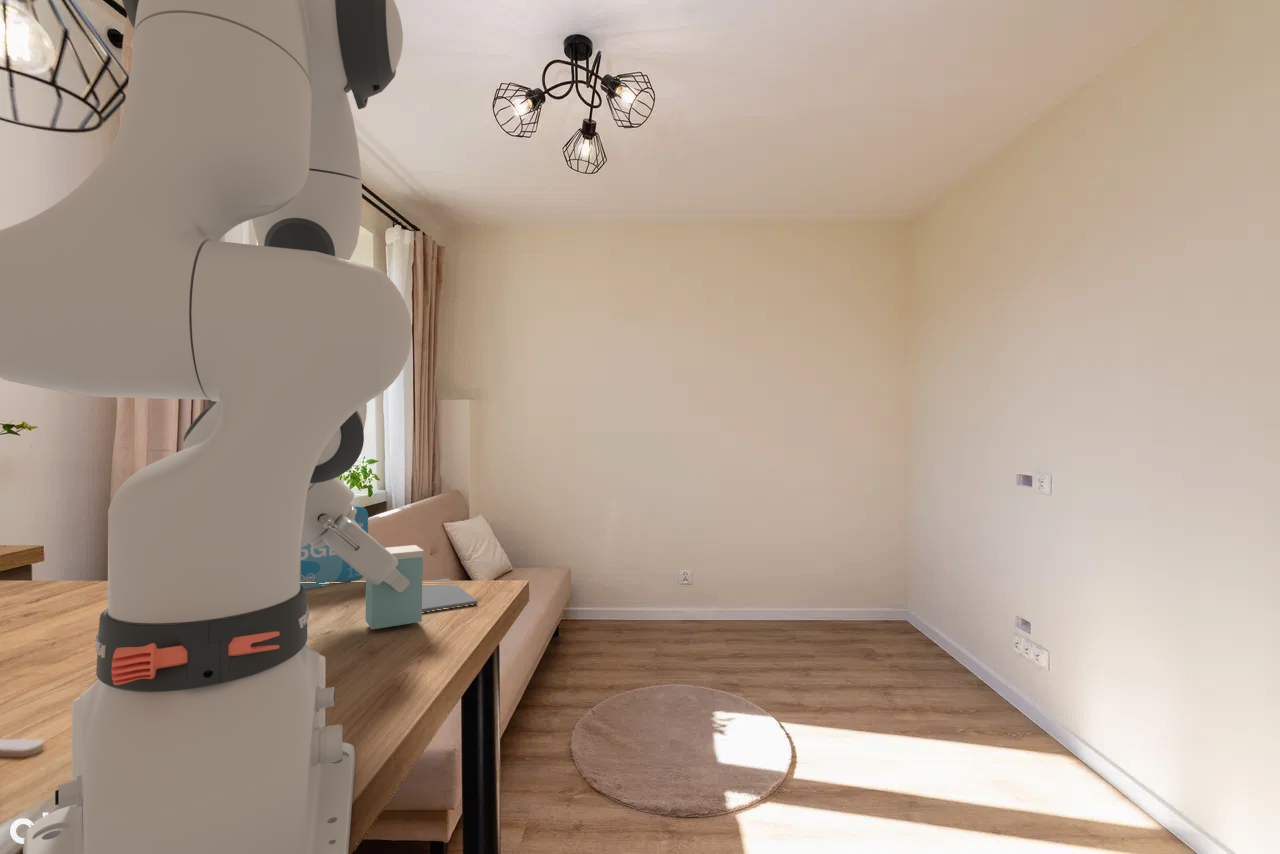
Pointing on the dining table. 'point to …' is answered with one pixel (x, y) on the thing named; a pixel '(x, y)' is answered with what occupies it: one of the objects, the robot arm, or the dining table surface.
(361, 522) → the data package
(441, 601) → the felt mat
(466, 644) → the dining table surface
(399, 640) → the dining table surface
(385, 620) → the tea tin
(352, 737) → the dining table surface
